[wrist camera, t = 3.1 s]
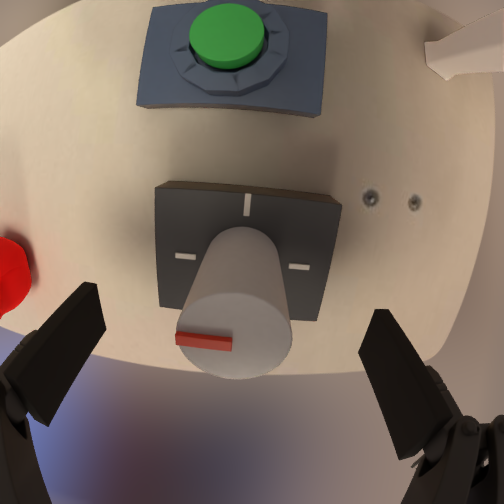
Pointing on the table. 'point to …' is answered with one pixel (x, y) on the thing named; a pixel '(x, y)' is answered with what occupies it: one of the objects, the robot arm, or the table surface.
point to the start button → (227, 35)
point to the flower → (13, 275)
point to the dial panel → (245, 215)
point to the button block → (243, 78)
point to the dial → (237, 308)
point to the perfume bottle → (469, 48)
